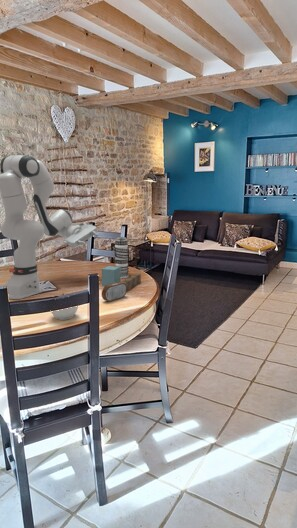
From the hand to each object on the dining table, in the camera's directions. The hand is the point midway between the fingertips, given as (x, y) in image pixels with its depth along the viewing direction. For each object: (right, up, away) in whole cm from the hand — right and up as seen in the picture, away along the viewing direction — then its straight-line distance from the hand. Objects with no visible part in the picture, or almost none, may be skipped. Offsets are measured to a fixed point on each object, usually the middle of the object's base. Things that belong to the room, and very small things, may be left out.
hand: (91, 239), depth 204 cm
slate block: (+11, -26, +4) cm, 29 cm away
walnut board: (+23, -27, -1) cm, 35 cm away
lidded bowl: (-4, -38, -47) cm, 60 cm away
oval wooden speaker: (+16, -32, -23) cm, 43 cm away
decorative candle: (+16, -22, +22) cm, 35 cm away
